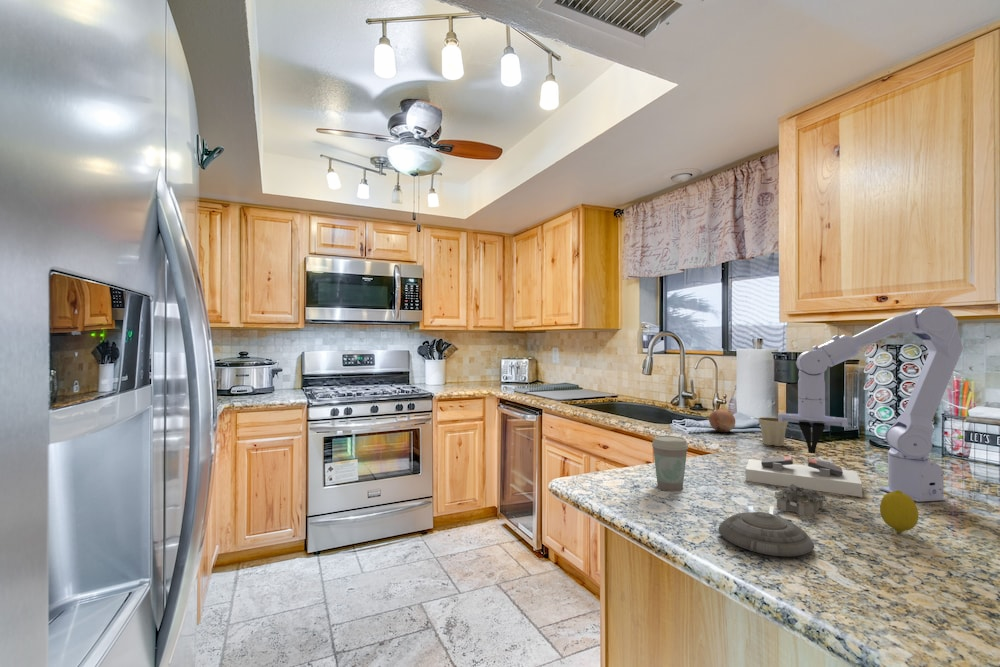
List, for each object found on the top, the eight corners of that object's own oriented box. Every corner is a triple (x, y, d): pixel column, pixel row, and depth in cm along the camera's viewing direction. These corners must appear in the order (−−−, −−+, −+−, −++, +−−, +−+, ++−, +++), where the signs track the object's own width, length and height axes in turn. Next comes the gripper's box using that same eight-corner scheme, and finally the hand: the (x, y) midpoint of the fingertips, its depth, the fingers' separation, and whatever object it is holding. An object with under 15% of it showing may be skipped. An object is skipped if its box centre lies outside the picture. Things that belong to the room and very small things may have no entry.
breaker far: (793, 462, 124) (791, 455, 124) (793, 467, 120) (791, 459, 120) (763, 464, 128) (762, 457, 128) (762, 469, 123) (761, 461, 124)
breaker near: (839, 473, 119) (841, 466, 119) (841, 479, 115) (843, 471, 114) (806, 464, 122) (808, 457, 122) (807, 468, 118) (809, 461, 118)
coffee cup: (648, 489, 115) (648, 440, 115) (655, 480, 123) (654, 433, 123) (686, 495, 111) (686, 443, 111) (690, 485, 119) (690, 437, 119)
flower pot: (764, 440, 171) (764, 416, 171) (793, 444, 164) (793, 419, 164) (753, 443, 165) (752, 419, 165) (782, 448, 158) (782, 422, 158)
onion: (718, 437, 190) (716, 413, 195) (741, 434, 183) (738, 409, 188) (705, 431, 185) (703, 406, 190) (728, 428, 178) (726, 402, 183)
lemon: (880, 524, 93) (879, 484, 94) (917, 532, 90) (917, 489, 90) (879, 533, 89) (879, 491, 89) (919, 541, 86) (918, 497, 86)
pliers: (808, 467, 131) (804, 455, 144) (808, 473, 131) (804, 460, 144) (852, 472, 126) (844, 459, 139) (852, 478, 126) (844, 464, 139)
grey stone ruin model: (809, 519, 97) (809, 499, 97) (770, 509, 103) (770, 490, 103) (829, 507, 103) (829, 489, 103) (791, 498, 109) (791, 480, 109)
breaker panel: (856, 483, 120) (856, 464, 120) (862, 496, 110) (862, 476, 110) (749, 469, 132) (749, 452, 133) (745, 480, 122) (745, 462, 122)
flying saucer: (705, 544, 86) (705, 513, 86) (735, 521, 96) (735, 494, 96) (801, 573, 75) (801, 538, 75) (823, 544, 85) (823, 513, 85)
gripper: (777, 398, 120) (778, 451, 120) (848, 402, 113) (848, 459, 113) (778, 395, 126) (778, 446, 126) (845, 399, 119) (845, 453, 119)
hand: (811, 452), depth 120 cm, fingers closed
